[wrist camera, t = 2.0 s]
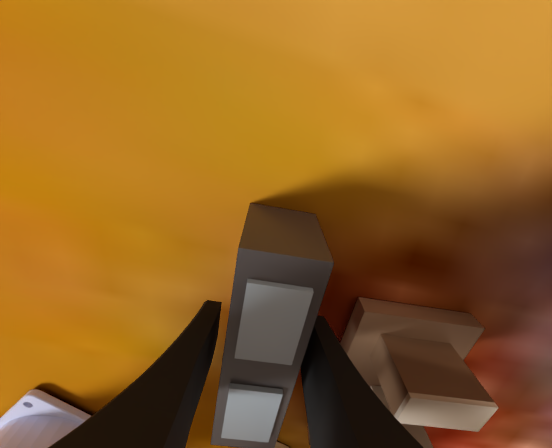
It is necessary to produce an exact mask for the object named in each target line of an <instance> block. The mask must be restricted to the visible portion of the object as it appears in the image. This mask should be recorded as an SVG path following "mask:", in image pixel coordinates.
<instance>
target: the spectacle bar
mask: <svg viewBox="0 0 552 448" xmlns="http://www.w3.org/2000/svg"><path fill="white" fill-rule="evenodd" d="M333 265H334V261H333V258H332V256H331V253H330V250H329V248H328V245H327V243H326V240H325V238H324V235H323V232H322V230H321V227H320V225H319V222H318V219H317V217H316V214H313V213H307V212H301V211H295V210H289V209H283V208H278V207H272V206H266V205H260V204H254V203H250V206H249V210H248V213H247V217H246V221H245V225H244V229H243V232H242V236H241V240H240V244H239V248H238V254H237V262H236V269H235V276H234V283H233V290H232V297H231V304H230V311H229V318H228V325H227V332H226V339H225V346H224V353H223V360H222V367H221V374H220V381H219V389H218V396H217V403H216V410H215V417H214V424H213V431H212V438H211V445H220V446H230V447H241V448H275V445H276V441H277V438H278V435H279V432H280V429H281V426H282V423H283V420H284V417H285V414H286V410H287V407H288V404H289V401H290V398H291V395H292V392H293V389H294V386H295V383H296V380H297V376H298V373H299V370H300V367H301V364H302V361H303V358H304V355H305V352H306V349H307V345H308V342H309V339H310V336H311V333H312V330H313V327H314V324H315V321H316V318H317V314H318V311H319V308H320V305H321V302H322V299H323V296H324V293H325V290H326V287H327V283H328V280H329V277H330V274H331V271H332V268H333Z"/></svg>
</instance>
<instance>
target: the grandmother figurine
mask: <svg viewBox="0 0 552 448" xmlns="http://www.w3.org/2000/svg"><path fill="white" fill-rule="evenodd" d="M275 448H289V447H288V446H286V445H284V444H281V443H279V442H277V441H276V445H275Z"/></svg>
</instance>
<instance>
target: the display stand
mask: <svg viewBox="0 0 552 448" xmlns="http://www.w3.org/2000/svg"><path fill="white" fill-rule="evenodd" d="M484 329H485V328H484V327H483V326H482V325H481V324H480V323H479V322H478V321H477V320H476V319H475V318H474V317H473V315H472V314H471V313H464V312H457V311H451V310H444V309H437V308H430V307H423V306H416V305H410V304H403V303H396V302H389V301H382V300H376V299H369V298H362V297H358V299H357V302H356V304H355V307H354V309H353V312H352V314H351V317H350V320H349V322H348V325H347V327H346V330H345V332H344V335H343V337H342V340H341V342H340V344H341V346H342V347H343V349H344V351H345V352H346V354H347V355H348V357H349V358H350V360H351V361H352V363H353V364H354V366H355V367H356V369H357V370H358V372H359V373H360V374H361V376H362V377H363V378H364V380H365V381H366V383H367V384H368V385H369V387H370V388H371V389H372V390H373V392H374V393H375V394H376V395H377V397H378V398H379V399H380V400H381V401H382V403H383V404H384V405H385V406H386V408H387V409H388V410H389V411H390V412H391V413H392V414H393V416H394V417H395V418H396V419H397V420H398V421H399V422H400V423H401V424H402V425H403V426H404V428H405V429H406V430H407V431H408V432H409V433H410V434H411V435H412V436H413V437H414V438H415V439H416V440H417V441H418V442H419V443H420V444H421V445H422V446H423V447H424V448H433V446H432V444H431V441H430V439H429V437H428V435H427V433H426V431H425V429H424V427H423V426H430V427H439V428H448V429H457V430H467V431H476V432H478V431H479V430H480V429H481V428H482V427H483V426H484V424H485V423H486V422H487V421H488V420H489V419H490V417H491V416H492V415H493V414H494V413H495V412H496V411H497V409H498V406H497V405H496V404H495V402H494V401H493V400H492V398H491V397H490V396H489V394H488V393H487V392H486V390H485V389H484V388H483V386H482V385H481V384H480V382H479V381H478V380H477V378H476V377H475V376H474V374H473V373H472V372H471V370H470V369H469V368H468V366H467V365H466V364H465V362H464V361H463V360H464V359H465V357H466V356H467V354H468V353H469V351H470V350H471V348H472V347H473V345H474V344H475V343H476V341H477V340H478V338H479V337H480V335H481V334H482V332H483V331H484ZM307 428H308V437H309V445H310V435H309V427H308V426H307Z"/></svg>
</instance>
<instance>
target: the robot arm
mask: <svg viewBox="0 0 552 448" xmlns="http://www.w3.org/2000/svg"><path fill="white" fill-rule="evenodd" d="M221 303H222V302H216V301H209V300H207V301H206V302H204V304H203V306H202V307H201V309H200V310H199V312H198V313H197V314H196V316H195V317H194V318H193V320H192V321H191V322H190V324H189V325H188V326H187V327H186V328H185V330H184V331H183V332H182V333H181V334H180V336H179V337H178V338H177V339H176V340H175V341H174V342H173V343H172V345H171V346H170V347H169V348H168V349H167V350H166V351H165V352H164V353H163V354H162V355H161V356H160V357H159V358H158V359H157V360H156V361H155V362H154V363H153V364H152V365H151V366H150V367H149V368H148V369H147V370H146V371H145V372H144V373H143V374H142V375H141V376H140V377H139V378H137V379H136V380H135V381H134V382H133V383H132V384H131V385H129V386H128V387H127V388H126V389H125V390H124V391H123V392H121V393H120V394H119V395H118V396H117V397H115V398H114V399H113V400H112V401H110V402H109V403H108V404H107V405H105V406H104V407H103V408H102V409H100V410H99V411H98V412H96V413H95V414H94V415H92V416H91V415H89V414H87V413H85V412H83V411H81V410H79V409H77V408H75V407H73V406H71V405H69V404H67V403H65V402H63V401H61V400H59V399H57V398H55V397H53V396H51V395H49V394H47V393H45V392H43V391H41V390H37V389H33V390H30V391H29V392H27V393H26V394H25V395H24V396H23V397H22V398H21V399H20V400H19V401H18V402H17V403H16V404H15V405H13V406H12V407H11V408H10V409H9V410H8V411H7V412H6V413H5V414H4V415H3V416H2V417H1V418H0V448H185V447H186V442H187V438H188V434H189V431H190V427H191V424H192V420H193V417H194V414H195V411H196V408H197V405H198V402H199V399H200V396H201V393H202V390H203V387H204V384H205V381H206V378H207V374H208V371H209V368H210V365H211V362H212V358H213V354H214V350H215V345H216V341H217V336H218V328H219V319H220V311H221ZM301 377H302V385H303V392H304V399H305V406H306V413H307V420H308V427H309V435H310V445H311V448H424V447H423V446H422V445H421V444H420V443H419V442H418V441H417V440H416V439H415V438H414V437H413V436H412V435H411V434H410V433H409V432H408V431H407V430H406V429H405V428H404V426H403V425H402V424H401V423H400V422H399V421H398V420H397V419H396V418H395V417H394V416H393V414H392V413H391V412H390V411H389V410H388V409H387V408H386V406H385V405H384V404H383V403H382V401H381V400H380V399H379V398H378V397H377V395H376V394H375V393H374V392H373V390H372V389H371V388H370V387H369V385H368V384H367V383H366V381H365V380H364V378H363V377H362V376H361V374H360V373H359V372H358V370H357V369H356V367H355V366H354V364H353V363H352V361H351V360H350V358H349V357H348V355H347V354H346V352H345V351H344V349H343V347H342V346H341V344H340V343H339V341H338V339H337V338H336V336H335V334H334V333H333V331H332V329H331V328H330V326H329V324H328V323H327V321H326V319H325V318H324V316H317V318H316V321H315V324H314V327H313V330H312V333H311V336H310V339H309V342H308V345H307V349H306V352H305V355H304V358H303V361H302V364H301Z"/></svg>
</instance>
